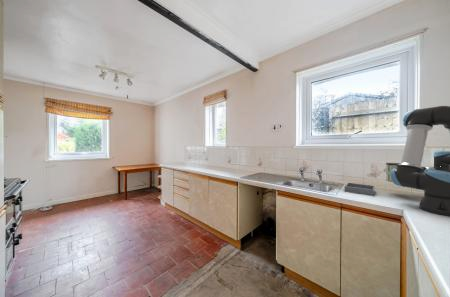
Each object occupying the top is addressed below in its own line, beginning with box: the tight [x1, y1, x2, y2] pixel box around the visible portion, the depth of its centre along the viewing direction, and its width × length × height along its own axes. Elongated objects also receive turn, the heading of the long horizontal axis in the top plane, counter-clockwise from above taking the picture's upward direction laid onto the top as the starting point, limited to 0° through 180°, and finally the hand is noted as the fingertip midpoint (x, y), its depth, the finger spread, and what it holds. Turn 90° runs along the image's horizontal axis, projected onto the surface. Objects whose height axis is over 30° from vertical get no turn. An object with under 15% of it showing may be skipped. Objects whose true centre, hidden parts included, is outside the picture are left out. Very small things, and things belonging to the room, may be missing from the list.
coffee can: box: [385, 162, 401, 183], centre depth 127 cm, size 10×10×14 cm
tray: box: [344, 182, 376, 196], centre depth 137 cm, size 18×18×4 cm
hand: (388, 170), depth 128 cm, fingers closed on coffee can, 10 cm apart
